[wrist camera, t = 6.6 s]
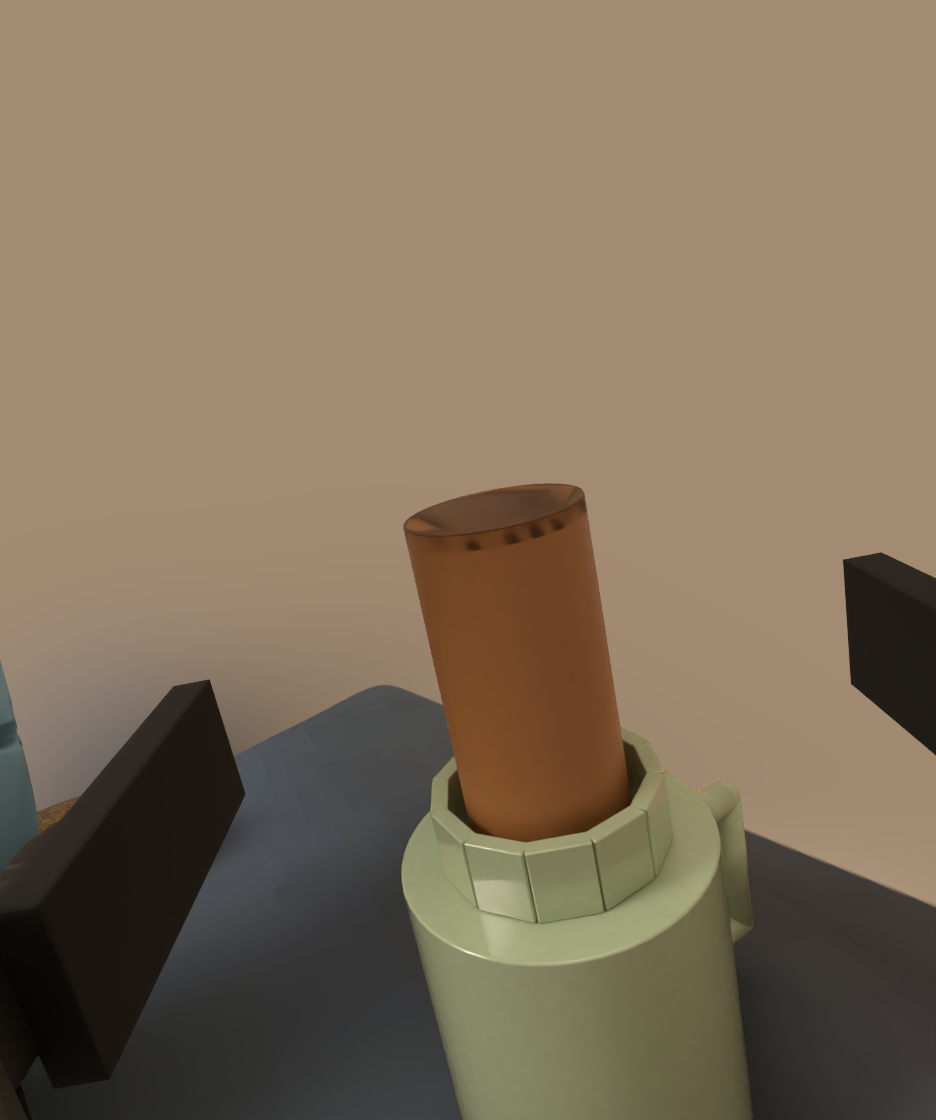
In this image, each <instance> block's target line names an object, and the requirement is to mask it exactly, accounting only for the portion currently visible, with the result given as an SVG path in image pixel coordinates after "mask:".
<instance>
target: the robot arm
mask: <svg viewBox="0 0 936 1120" xmlns="http://www.w3.org/2000/svg"><path fill="white" fill-rule="evenodd" d="M843 566H844V580H845V597H846V612H847V628H848V644H849V660H850V674H851V684H852V685H853V686H854V687H856V688H857V689H858V690H859V691H860V692H861V693H863V694H864V695H865V696H866V697H867V698H869V699H870V700H871V701H872V702H873V703H875V704H876V705H877V706H878V707H879V708H880V709H882V710H883V711H884V712H885V713H886V714H888V715H889V716H890V717H891V718H892V719H893V720H895V721H896V722H897V723H898V724H899V725H901V726H902V727H903V728H904V729H905V730H907V731H908V732H909V733H910V734H911V735H913V736H914V737H915V738H916V739H917V740H918V741H920V742H921V743H922V744H923V745H925V746H926V747H927V748H928V749H929V750H930V751H932V752H933V753H934V754H935V755H936V578H934V577H932V576H930V575H928V574H925V573H923V572H921V571H919V570H917V569H915V568H913V567H911V566H909V565H907V564H904V563H902V562H900V561H898V560H896V559H894V558H891V557H890V556H888V555H886V554H883V553H876V554H871V555H866V556H860V557H855V558H850V559H845V560H843ZM16 729H17V724H16V721H15V717H14V713H13V708H12V702H11V699H10V694H9V691H8V687H7V683H6V679H5V676H4V672H3V669H2V665H1V662H0V1120H36V1118H35V1115H34V1112H33V1109H32V1106H31V1103H30V1101H29V1098H28V1096H27V1094H26V1092H25V1090H24V1088H23V1085H22V1083H21V1082H22V1080H23V1079H24V1077H25V1075H26V1074H27V1072H28V1070H29V1069H30V1067H31V1065H32V1064H33V1062H34V1060H35V1059H36V1057H37V1055H39V1057H40V1059H41V1061H42V1064H43V1066H44V1068H45V1070H46V1073H47V1075H48V1077H49V1079H50V1082H51V1084H52V1086H53V1088H54V1089H55V1088H61V1087H67V1086H73V1085H79V1084H85V1083H90V1082H96V1081H102V1080H108V1079H110V1077H111V1075H112V1073H113V1071H114V1069H115V1067H116V1064H117V1062H118V1060H119V1058H120V1056H121V1054H122V1052H123V1050H124V1048H125V1046H126V1044H127V1041H128V1039H129V1037H130V1035H131V1033H132V1031H133V1029H134V1027H135V1025H136V1023H137V1020H138V1018H139V1016H140V1014H141V1012H142V1010H143V1008H144V1006H145V1004H146V1002H147V1000H148V997H149V995H150V993H151V991H152V989H153V987H154V985H155V983H156V981H157V979H158V976H159V974H160V972H161V970H162V968H163V966H164V964H165V962H166V960H167V958H168V956H169V953H170V951H171V949H172V947H173V945H174V943H175V941H176V939H177V937H178V935H179V932H180V930H181V928H182V926H183V924H184V922H185V920H186V918H187V916H188V914H189V912H190V909H191V907H192V905H193V903H194V901H195V899H196V897H197V895H198V893H199V891H200V888H201V886H202V884H203V882H204V880H205V878H206V876H207V874H208V872H209V870H210V868H211V865H212V863H213V861H214V859H215V857H216V855H217V853H218V851H219V849H220V847H221V844H222V842H223V840H224V838H225V836H226V834H227V832H228V830H229V828H230V826H231V824H232V821H233V819H234V817H235V815H236V813H237V811H238V809H239V807H240V805H241V803H242V800H243V798H244V796H245V791H244V788H243V785H242V782H241V778H240V775H239V772H238V769H237V766H236V763H235V759H234V756H233V753H232V750H231V747H230V744H229V740H228V737H227V734H226V731H225V727H224V725H223V721H222V718H221V715H220V712H219V709H218V706H217V702H216V699H215V696H214V692H213V690H212V686H211V683H210V680H204V681H199V682H194V683H189V684H183V685H178V686H174V687H173V688H172V689H171V690H170V691H169V693H168V694H167V695H166V696H165V697H164V698H163V700H162V701H161V702H160V703H159V704H158V706H157V707H156V708H155V709H154V710H153V711H152V713H151V714H150V715H149V716H148V717H147V719H146V720H145V721H144V722H143V723H142V724H141V726H140V727H139V728H138V729H137V730H136V732H135V733H134V734H133V735H132V736H131V737H130V739H129V740H128V741H127V742H126V744H125V745H124V746H123V747H122V748H121V749H120V751H119V752H118V753H117V754H116V755H115V756H114V758H113V759H112V760H111V761H110V762H109V763H108V765H107V766H106V767H105V768H104V770H103V771H102V772H101V773H100V774H99V775H98V776H97V778H96V779H95V780H94V781H93V782H92V784H91V785H90V786H89V787H88V788H87V789H86V791H85V792H84V793H83V794H82V795H81V797H80V798H79V799H78V800H77V801H76V802H75V804H74V805H73V806H72V807H71V808H70V810H69V811H68V812H67V813H66V814H65V815H64V817H63V818H62V819H61V820H60V821H59V822H55V823H53V824H52V825H50V826H49V827H48V828H46V829H45V830H44V831H42V832H41V833H40V834H39V825H38V817H37V811H36V805H35V800H34V794H33V789H32V785H31V780H30V776H29V771H28V767H27V763H26V759H25V755H24V751H23V747H22V743H21V741H20V737H19V736H18V734H17V730H16Z"/></svg>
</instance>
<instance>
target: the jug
mask: <svg viewBox="0 0 936 1120" xmlns="http://www.w3.org/2000/svg"><path fill="white" fill-rule="evenodd" d="M620 728H621V735H622V741H623V748H624V754H625V761H626V767H627V774H628V780H629V787H630V793H631V800H632V803H631V805H630V806H628V807H627V808H625V809H623V810H622V811H620V812H618V813H617V814H615V815H613V816H612V817H610V818H608V819H607V820H605V821H603V822H601V823H600V824H598V825H596V826H595V827H593V828H591V829H590V830H588V831H586V832H582V833H576V834H570V835H565V836H559V837H553V838H548V839H542V840H536V841H531V842H521V841H516V840H511V839H505V838H500V837H494V836H489V835H483V834H478V833H475V832H474V831H472V830H471V828H470V824H469V819H468V815H467V810H466V806H465V801H464V797H463V792H462V788H461V783H460V779H459V775H458V770H457V766H456V761H455V757H454V756H453V758H452V759H451V760H450V761H449V762H448V763H447V764H446V765H445V766H444V767H443V769H442V770H441V771H440V772H439V773H438V774H437V775H436V776H435V777H434V779H433V781H432V795H431V810H430V811H429V812H428V813H427V814H426V815H425V817H424V818H423V819H422V821H421V822H420V823H419V825H418V826H417V827H416V829H415V831H414V832H413V834H412V836H411V838H410V839H409V842H408V845H407V847H406V850H405V852H404V857H403V862H402V867H401V882H402V887H403V892H404V897H405V900H406V904H407V908H408V912H409V916H410V920H411V924H412V928H413V931H414V935H415V939H416V943H417V947H418V951H419V955H420V959H421V962H422V966H423V970H424V974H425V978H426V982H427V986H428V990H429V993H430V997H431V1001H432V1005H433V1009H434V1013H435V1017H436V1021H437V1024H438V1028H439V1032H440V1036H441V1040H442V1044H443V1048H444V1052H445V1055H446V1059H447V1063H448V1067H449V1071H450V1075H451V1079H452V1083H453V1086H454V1090H455V1094H456V1098H457V1102H458V1106H459V1110H460V1114H461V1117H462V1120H753V1108H752V1100H751V1091H750V1083H749V1074H748V1066H747V1058H746V1049H745V1041H744V1033H743V1024H742V1016H741V1007H740V999H739V991H738V982H737V974H736V965H735V957H734V949H733V945H734V944H735V943H737V942H738V941H739V940H740V939H742V938H743V937H744V936H746V935H747V934H748V933H749V932H750V931H751V930H752V928H753V924H754V917H753V907H752V898H751V889H750V880H749V871H748V861H747V852H746V843H745V834H744V825H743V816H742V806H741V797H740V793H739V791H738V789H737V788H736V786H735V785H733V784H732V783H731V782H729V781H726V780H715V781H713V782H711V783H710V784H708V785H706V786H705V787H704V788H701V789H700V790H699V791H697V792H695V790H694V789H692V788H691V787H690V786H689V785H687V784H686V783H685V782H683V781H682V780H681V779H679V778H677V777H676V776H674V775H672V774H671V773H669V772H667V771H665V770H663V768H662V766H661V764H660V762H659V760H658V758H657V756H656V754H655V752H654V750H653V748H652V746H651V744H650V742H648V741H647V740H646V739H644V738H642V737H640V736H638V735H636V734H634V733H632V732H630V731H627V730H626V729H624V728H622V727H620Z"/></svg>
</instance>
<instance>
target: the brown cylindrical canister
mask: <svg viewBox="0 0 936 1120" xmlns="http://www.w3.org/2000/svg"><path fill="white" fill-rule="evenodd" d="M404 533H405V537H406V542H407V546H408V550H409V555H410V559H411V564H412V568H413V573H414V577H415V582H416V586H417V591H418V595H419V600H420V604H421V609H422V613H423V618H424V622H425V627H426V631H427V636H428V640H429V645H430V649H431V654H432V658H433V662H434V667H435V671H436V675H437V680H438V685H439V689H440V694H441V698H442V703H443V707H444V712H445V716H446V721H447V725H448V730H449V734H450V739H451V743H452V748H453V752H454V757H455V761H456V766H457V770H458V775H459V779H460V783H461V788H462V792H463V797H464V801H465V806H466V810H467V815H468V819H469V824H470V828H471V830H472V831H474V832H475V833H478V834H483V835H489V836H494V837H500V838H505V839H511V840H516V841H521V842H531V841H536V840H542V839H548V838H553V837H559V836H565V835H570V834H576V833H582V832H586V831H588V830H590V829H591V828H593V827H595V826H596V825H598V824H600V823H601V822H603V821H605V820H607V819H608V818H610V817H612V816H613V815H615V814H617V813H618V812H620V811H622V810H623V809H625V808H627V807H628V806H630V805H631V803H632V800H631V793H630V787H629V780H628V774H627V767H626V761H625V754H624V748H623V741H622V735H621V728H620V722H619V715H618V709H617V703H616V697H615V690H614V683H613V677H612V671H611V664H610V657H609V651H608V645H607V638H606V631H605V625H604V618H603V613H602V605H601V599H600V592H599V586H598V579H597V573H596V566H595V560H594V553H593V547H592V540H591V534H590V527H589V521H588V514H587V509H586V501H585V495H584V492H583V490H582V489H581V488H579V487H576V486H572V485H566V484H532V485H521V486H514V487H506V488H500V489H494V490H489V491H484V492H479V493H475V494H470V495H466V496H462V497H459V498H455V499H452V500H448V501H445V502H443V503H439V504H437V505H434V506H431V507H429V508H426V509H424V510H422V511H420V512H418V513H416V514H414V515H413V516H411V517H410V518H409V519H407V520H406V522H405V523H404Z"/></svg>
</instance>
